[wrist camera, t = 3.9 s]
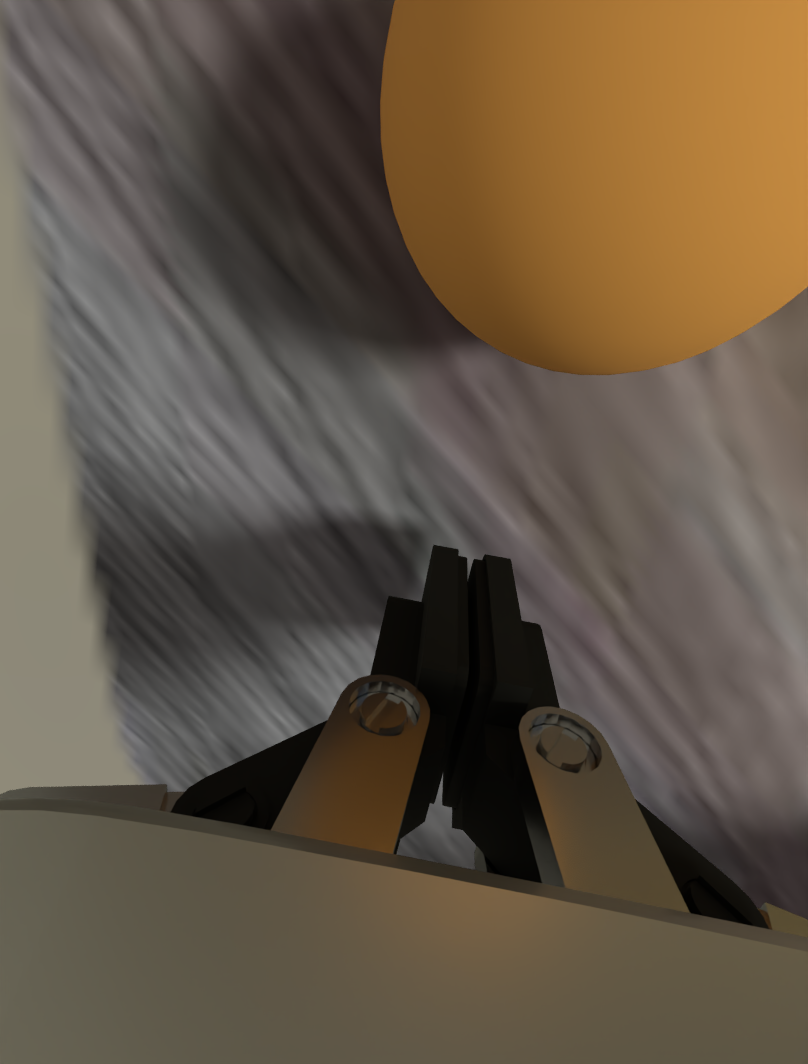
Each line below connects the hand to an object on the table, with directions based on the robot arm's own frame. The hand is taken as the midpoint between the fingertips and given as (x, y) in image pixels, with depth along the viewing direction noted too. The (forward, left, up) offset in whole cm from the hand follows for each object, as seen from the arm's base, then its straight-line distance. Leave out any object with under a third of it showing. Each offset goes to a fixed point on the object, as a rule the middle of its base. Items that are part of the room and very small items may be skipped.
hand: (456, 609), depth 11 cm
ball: (+8, -1, +1) cm, 9 cm away
